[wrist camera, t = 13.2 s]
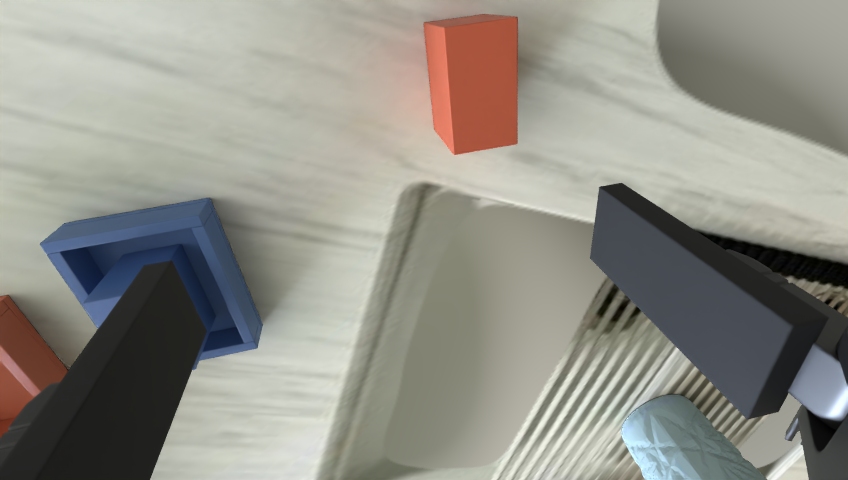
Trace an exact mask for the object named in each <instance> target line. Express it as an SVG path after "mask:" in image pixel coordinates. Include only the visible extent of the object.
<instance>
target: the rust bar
mask: <svg viewBox="0 0 848 480" xmlns="http://www.w3.org/2000/svg"><path fill="white" fill-rule="evenodd" d="M424 33H425V43H426V52H427V62H428V72H429V82H430V92H431V102H432V111H433V121H434V130H435V131H436V133H437V134H438V135H439V136H440V138H441V139H442V140H443V142H444V143H445V144H446V145H447V147H448V148H449V149H450V151H451V152H452V153H453V154H454V155H457V154H463V153H468V152H474V151H480V150H486V149H491V148H497V147H503V146H509V145H514V144H517V68H518V18H517V17H511V16H499V15H487V14H482V15H475V16H468V17H461V18H453V19H446V20H439V21H432V22H425V23H424Z"/></svg>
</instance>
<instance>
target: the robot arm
mask: <svg viewBox="0 0 848 480" xmlns="http://www.w3.org/2000/svg"><path fill="white" fill-rule="evenodd" d="M590 259H591V260H593V262H594V263H595V264H596V265H597V266H598V267H599V268H600V269H601V270H602V271H603V272H604V273H605V274H606V275H607V276H608V277H609V278H610V279H611V280H612V281H613V282H614V283H615V284H616V285H617V286H618V287H619V288H620V289H621V290H622V291H623V292H624V293H625V294H626V295H627V297H628V298H629V299H630V300H631V301H632V302H633V303H634V304H635V305H636V306H637V307H638V308H639V309H640V310H641V311H642V312H643V313H644V314H645V315H646V316H647V317H648V318H649V319H650V320H651V321H652V322H653V323H654V324H655V325H656V326H657V327H658V328H659V329H660V330H661V331H662V332H663V333H664V334H665V335H666V337H667V338H668V339H669V340H670V341H671V342H672V343H673V344H674V345H675V346H676V347H677V348H678V349H679V350H680V351H681V352H682V353H683V354H684V355H685V356H686V357H687V358H688V359H689V360H690V361H691V362H692V363H693V364H694V365H695V366H696V367H697V368H698V369H699V370H700V371H701V372H702V373H703V374H704V375H705V377H706V378H707V379H708V380H709V381H710V382H711V383H712V384H713V385H714V386H715V387H716V388H717V389H718V390H719V391H720V392H721V393H722V394H723V395H724V396H725V397H726V398H727V399H728V400H729V401H730V402H731V403H732V404H733V405H734V406H735V407H736V408H737V409H738V410H739V411H740V412H741V413H742V414H743V415H744V417H745V418H746V419H751V418H755V417H759V416H763V415H767V414H771V413H776V412H778V411H779V410H780V408H781V406H782V404H783V402H784V401H785V399H786V397H787V395H788V393H790V394H791V395H792V396H793V397H794V398H795V399H797V400H798V401H799V402H800V403H801V404H802V405H801V407H800V409H799V410H798V412H797V414H796V415H795V417H794V419H793V421H792V423H791V424H790V426H789V428H788V429H787V431H786V437H785V439H786V440H789V441H792V439H793V438H794V436H795V434H796V433H797V432H798V431H800V433H801V439H802V442H801V445H803V450H804V455H805V460H806V466H807V471H808V477H809V480H848V318H847V317H846V316H844V315H843V314H841V313H839V312H838V311H836V310H835V309H833V308H831V307H830V306H828V305H827V304H825V303H823V302H822V301H820V300H819V299H817V298H815V297H814V296H812V295H811V294H809V293H807V292H806V291H804V290H803V289H801V288H799V287H798V286H796V285H795V284H793V283H788V280H787V279H785V278H783V277H782V276H780V275H779V274H777V273H772V270H771V269H769V268H767V267H766V266H764V265H763V264H761V263H759V262H758V261H756V260H755V259H753V258H751V257H748V256H745V255H743V254H740V253H738V252H735V251H732V250H730V249H729V250H724V249H723V248H721V247H720V246H718V245H717V244H715V243H713V242H712V241H710V240H709V239H707V238H706V237H704V236H703V235H701V234H700V233H698V232H697V231H695V230H693V229H692V228H690V227H689V226H687V225H686V224H684V223H683V222H681V221H680V220H678V219H677V218H675V217H673V216H672V215H670V214H669V213H667V212H666V211H664V210H663V209H661V208H660V207H658V206H656V205H655V204H653V203H652V202H650V201H649V200H647V199H646V198H644V197H643V196H641V195H640V194H638V193H636V192H635V191H633V190H632V189H630V188H629V187H627V186H626V185H624V184H623V183H619V184H613V185H607V186H601V187H599V195H598V202H597V210H596V217H595V225H594V232H593V240H592V247H591V255H590ZM206 333H207V330H206V328H205V326H204V324H203V322H202V320H201V318H200V316H199V314H198V312H197V310H196V308H195V306H194V304H193V302H192V300H191V298H190V296H189V294H188V292H187V290H186V288H185V286H184V284H183V282H182V280H181V278H180V276H179V273H178V271H177V269H176V267H175V265H174V263H173V261H172V260H171V261H165V262H159V263H153V264H147V265H144V266H143V267H142V268H141V270H140V271H139V273H138V274H137V275H136V277H135V278H134V280H133V281H132V282H131V284H130V285H129V287H128V288H127V289H126V291H125V292H124V294H123V295H122V296H121V298H120V299H119V301H118V302H117V303H116V305H115V306H114V308H113V309H112V310H111V312H110V313H109V315H108V316H107V317H106V319H105V320H104V322H103V323H102V324H101V326H100V327H99V329H98V330H97V331H96V333H95V334H94V336H93V337H92V338H91V340H90V341H89V343H88V344H87V345H86V347H85V348H84V350H83V351H82V352H81V354H80V355H79V357H78V358H77V359H76V361H75V362H74V364H73V365H72V366H71V368H70V369H69V371H68V372H67V373H66V375H65V376H64V378H63V379H62V380H61V382H57V383H52V384H49V385H48V386H47V387H46V388H45V389H44V390H42V391H41V392H40V393H39V394H38V395H37V396H35V397H34V398H33V399H32V400H31V401H30V402H28V403H27V404H26V405H25V406H24V408H23V409H22V410H21V412H20V413H19V414H18V416H17V417H16V418H15V419H14V421H13V422H12V423H11V425H10V426H9V427H8V429H9V431H8V432H5V433H4V434H3V435H2V437H1V438H0V480H150V478H151V475H152V473H153V470H154V468H155V465H156V462H157V460H158V457H159V455H160V452H161V449H162V447H163V444H164V442H165V439H166V436H167V434H168V431H169V429H170V426H171V423H172V421H173V418H174V416H175V413H176V410H177V408H178V405H179V403H180V400H181V397H182V395H183V392H184V390H185V387H186V384H187V382H188V379H189V377H190V374H191V372H192V369H193V366H194V364H195V361H196V359H197V356H198V353H199V351H200V348H201V346H202V343H203V340H204V338H205V335H206Z"/></svg>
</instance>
